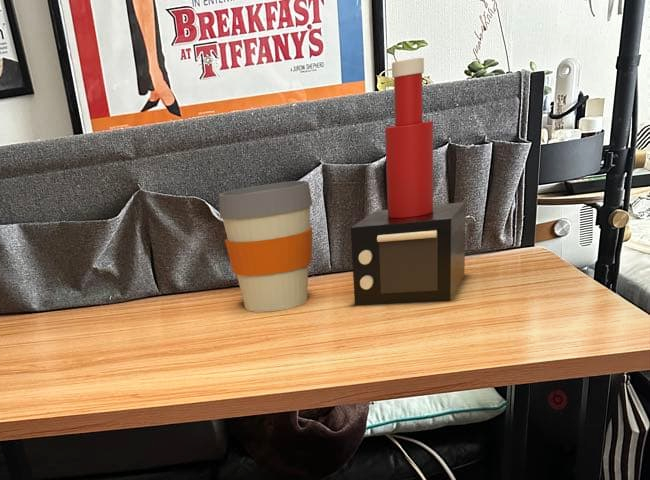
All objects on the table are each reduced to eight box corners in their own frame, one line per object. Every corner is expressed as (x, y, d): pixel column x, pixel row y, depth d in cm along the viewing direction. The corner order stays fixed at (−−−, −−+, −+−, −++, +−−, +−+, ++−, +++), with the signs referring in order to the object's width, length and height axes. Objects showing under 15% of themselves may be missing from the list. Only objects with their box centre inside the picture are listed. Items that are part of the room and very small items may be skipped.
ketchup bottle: (436, 209, 93) (436, 56, 85) (429, 215, 88) (428, 55, 80) (392, 213, 95) (388, 64, 87) (383, 219, 90) (378, 64, 82)
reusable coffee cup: (233, 300, 109) (218, 191, 101) (316, 288, 108) (307, 178, 101) (231, 319, 98) (215, 199, 91) (324, 307, 97) (314, 184, 90)
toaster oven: (464, 280, 100) (465, 201, 95) (448, 308, 88) (449, 220, 83) (378, 285, 104) (375, 210, 99) (352, 313, 92) (347, 229, 87)
